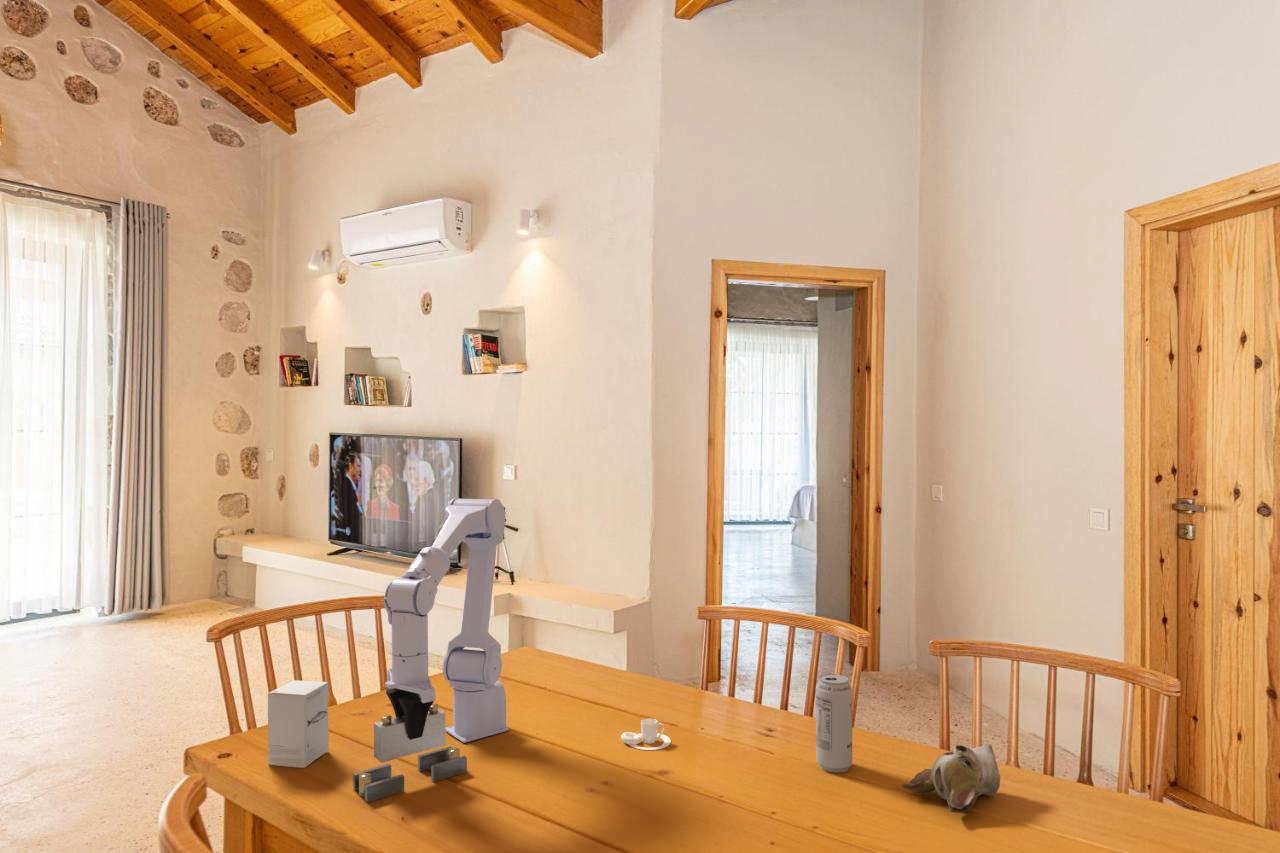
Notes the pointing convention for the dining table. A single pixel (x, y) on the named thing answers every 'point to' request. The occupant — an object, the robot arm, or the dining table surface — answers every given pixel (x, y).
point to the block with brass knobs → (395, 739)
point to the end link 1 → (377, 783)
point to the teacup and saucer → (646, 735)
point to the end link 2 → (443, 763)
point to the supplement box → (297, 723)
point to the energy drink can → (834, 723)
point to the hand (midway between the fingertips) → (410, 734)
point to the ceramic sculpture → (960, 777)
